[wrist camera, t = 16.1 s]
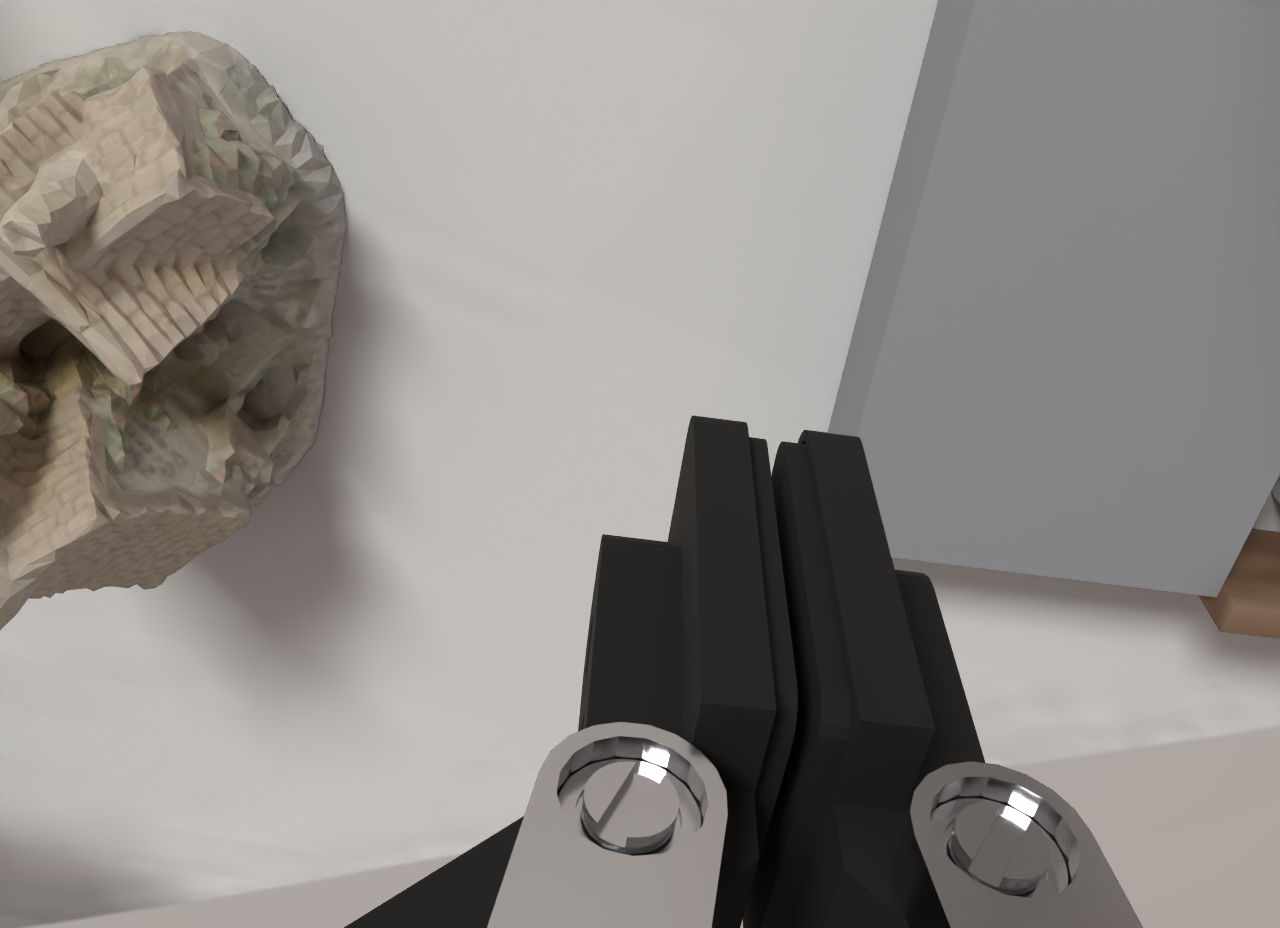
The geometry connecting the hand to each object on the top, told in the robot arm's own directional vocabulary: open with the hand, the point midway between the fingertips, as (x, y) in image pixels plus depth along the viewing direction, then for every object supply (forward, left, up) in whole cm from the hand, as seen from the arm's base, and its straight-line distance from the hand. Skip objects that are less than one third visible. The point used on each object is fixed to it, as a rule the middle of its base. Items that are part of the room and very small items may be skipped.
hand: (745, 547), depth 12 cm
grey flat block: (+7, +14, -27) cm, 31 cm away
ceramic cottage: (+12, -17, -28) cm, 34 cm away
